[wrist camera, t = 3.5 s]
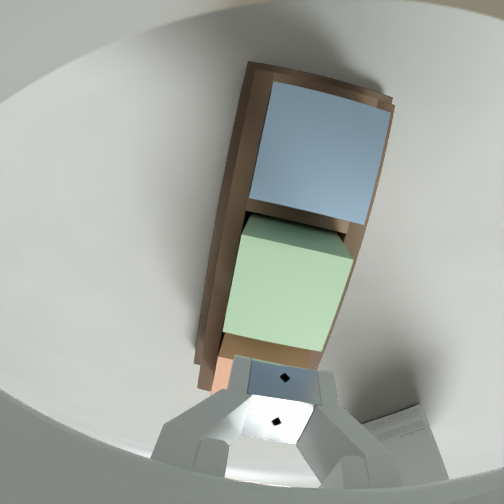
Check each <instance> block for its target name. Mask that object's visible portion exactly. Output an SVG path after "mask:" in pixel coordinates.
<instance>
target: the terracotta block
mask: <svg viewBox="0 0 504 504" xmlns="http://www.w3.org/2000/svg"><path fill="white" fill-rule="evenodd" d="M235 354H236V355H240V356H245V357H250V358H251V359H252V358H254V359H259V360H264V361H268V362H273V363H278V364H283V365H287V366H293V367H299V368H305V369H311V361H310V352H309V349H303V348H298V347H293V346H287V345H282V344H277V343H272V342H267V341H263V340H258V339H253V338H249V337H244V336H240V335H235V334H231V333H226V332H225V335H224V338H223V342H222V345H221V348H220V351H219V355H218V359H217V364H216V370H215V375H214V380H213V386H212V391H211V395H213V394H214V393H216V392H217V391H219V390H221V389H226V390H227V385H228V381H229V376H230V372H231V368H232V363H233V359H234V356H235Z"/></svg>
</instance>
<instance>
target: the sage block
mask: <svg viewBox="0 0 504 504" xmlns="http://www.w3.org/2000/svg"><path fill="white" fill-rule="evenodd" d="M353 260H354V259H353V258H352V256H351V255H350V253H349V251H348V250H347V248H346V247H345V245H344V243H343V242H342V240H341V239H340V237H339V235H338V234H337V232H336V231H333V230H329V229H325V228H321V227H316V226H312V225H308V224H304V223H299V222H295V221H291V220H286V219H282V218H277V217H273V216H268V215H264V214H259V213H255V212H252V214H251V216H250V218H249V220H248V222H247V224H246V226H245V228H244V230H243V233H242V235H241V240H240V245H239V250H238V255H237V260H236V265H235V270H234V276H233V281H232V286H231V291H230V296H229V301H228V306H227V312H226V317H225V322H224V327H223V332H226V333H231V334H235V335H240V336H244V337H249V338H253V339H258V340H263V341H267V342H272V343H277V344H282V345H287V346H293V347H298V348H303V349H309V350H315V351H320V352H321V351H322V349H323V346H324V343H325V341H326V338H327V336H328V333H329V330H330V327H331V325H332V322H333V319H334V317H335V314H336V311H337V308H338V305H339V302H340V300H341V297H342V294H343V291H344V288H345V285H346V282H347V279H348V276H349V273H350V270H351V266H352V263H353Z"/></svg>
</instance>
